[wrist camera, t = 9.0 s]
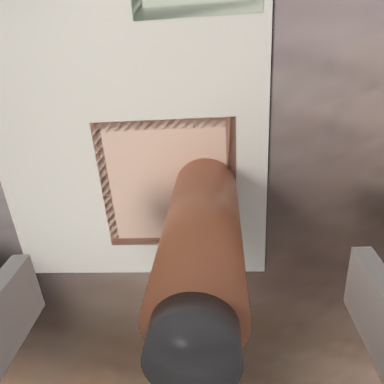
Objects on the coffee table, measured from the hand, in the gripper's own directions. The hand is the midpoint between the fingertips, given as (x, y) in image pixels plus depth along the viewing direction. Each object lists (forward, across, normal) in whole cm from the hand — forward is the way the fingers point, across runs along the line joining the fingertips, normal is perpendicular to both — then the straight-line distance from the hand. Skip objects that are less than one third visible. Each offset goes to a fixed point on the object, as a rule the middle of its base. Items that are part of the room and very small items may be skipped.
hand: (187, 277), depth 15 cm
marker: (+10, +1, 0) cm, 10 cm away
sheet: (+10, -4, +6) cm, 12 cm away
